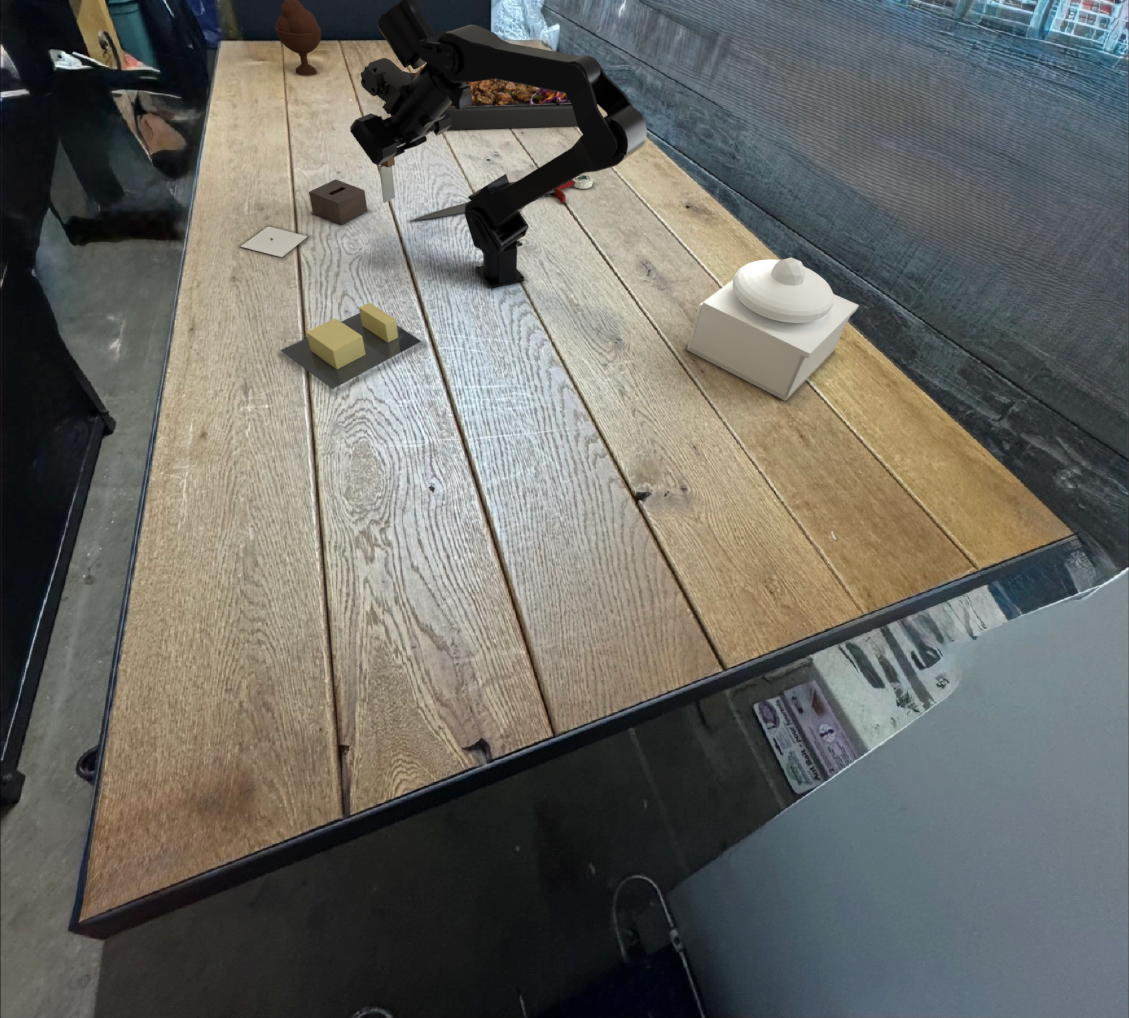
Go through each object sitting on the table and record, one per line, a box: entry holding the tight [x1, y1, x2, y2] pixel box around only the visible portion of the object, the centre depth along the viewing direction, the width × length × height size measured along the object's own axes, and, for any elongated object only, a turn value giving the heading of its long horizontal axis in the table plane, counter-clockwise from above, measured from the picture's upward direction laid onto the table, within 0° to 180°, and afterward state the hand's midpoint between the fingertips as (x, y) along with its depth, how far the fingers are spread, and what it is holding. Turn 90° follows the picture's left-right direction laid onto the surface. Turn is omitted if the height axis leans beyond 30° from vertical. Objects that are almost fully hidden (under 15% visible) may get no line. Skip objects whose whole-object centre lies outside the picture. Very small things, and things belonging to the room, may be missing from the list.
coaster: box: [240, 226, 309, 258], centre depth 113 cm, size 8×8×1 cm
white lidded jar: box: [686, 257, 860, 402], centre depth 98 cm, size 18×18×16 cm
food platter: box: [402, 66, 578, 132], centre depth 159 cm, size 45×25×10 cm, turn 108°
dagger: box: [410, 173, 594, 222], centre depth 132 cm, size 12×41×2 cm, turn 113°
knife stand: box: [308, 179, 368, 226], centre depth 121 cm, size 7×7×4 cm
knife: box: [378, 157, 396, 204], centre depth 110 cm, size 3×3×11 cm
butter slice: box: [358, 302, 398, 343], centre depth 97 cm, size 2×6×3 cm, turn 50°
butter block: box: [305, 318, 365, 369], centre depth 93 cm, size 5×6×3 cm
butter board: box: [280, 312, 422, 390], centre depth 96 cm, size 16×12×1 cm
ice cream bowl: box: [274, 0, 322, 76], centre depth 163 cm, size 11×11×15 cm
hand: (379, 155), depth 109 cm, fingers closed on knife, 2 cm apart
